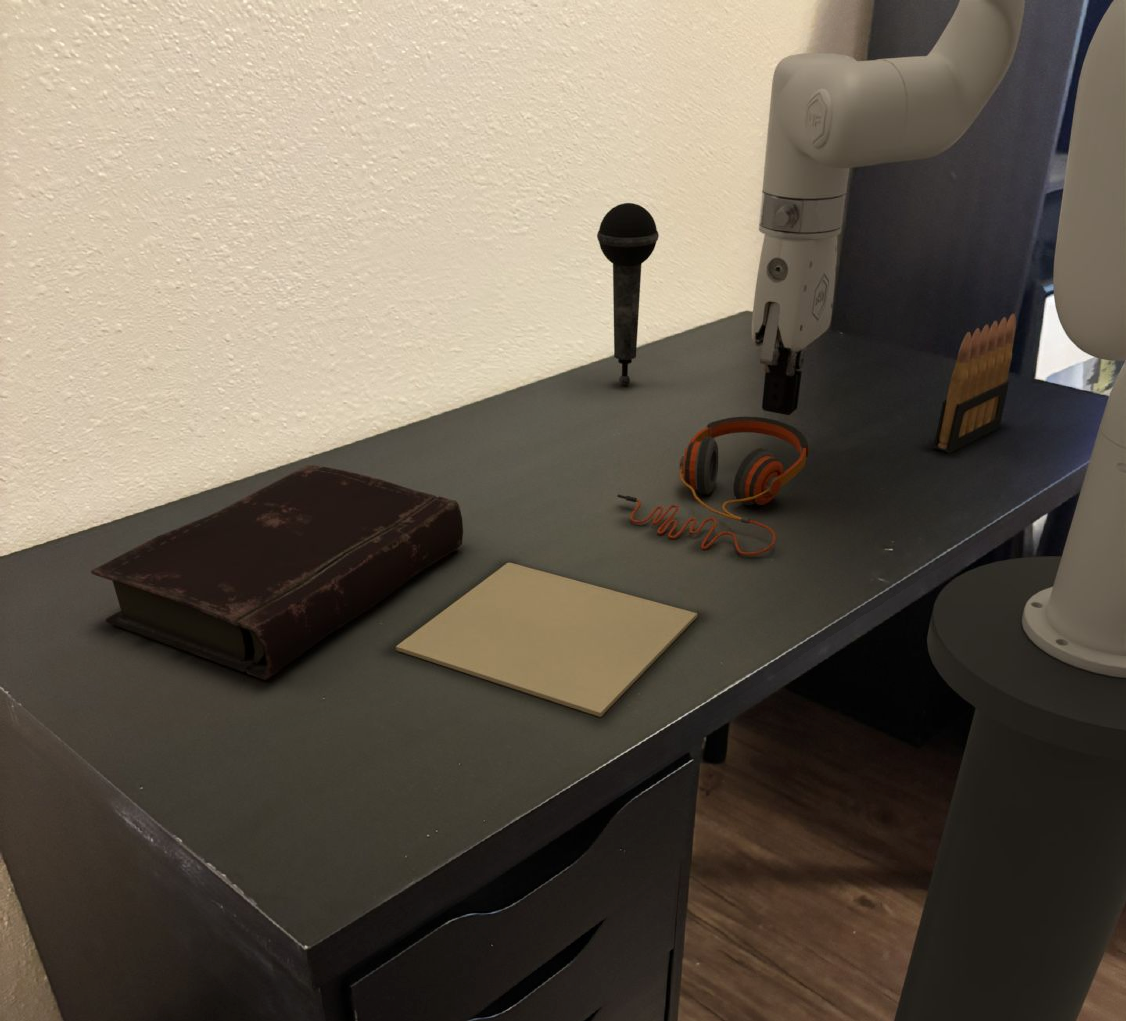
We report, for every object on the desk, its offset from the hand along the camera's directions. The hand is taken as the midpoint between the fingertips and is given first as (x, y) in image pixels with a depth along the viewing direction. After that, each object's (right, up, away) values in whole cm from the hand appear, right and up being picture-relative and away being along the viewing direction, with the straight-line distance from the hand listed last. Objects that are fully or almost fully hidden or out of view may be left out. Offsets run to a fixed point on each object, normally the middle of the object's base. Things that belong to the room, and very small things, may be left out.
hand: (779, 410), depth 112 cm
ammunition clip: (+21, -1, +7) cm, 22 cm away
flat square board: (-23, -25, -25) cm, 43 cm away
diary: (-45, -21, -18) cm, 53 cm away
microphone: (-15, +9, +21) cm, 27 cm away
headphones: (-7, -11, -6) cm, 14 cm away
